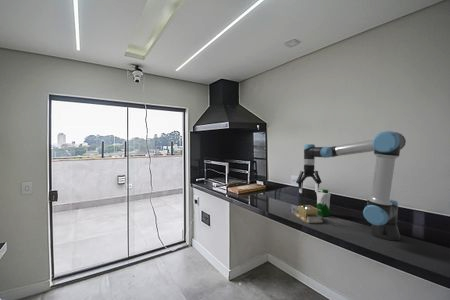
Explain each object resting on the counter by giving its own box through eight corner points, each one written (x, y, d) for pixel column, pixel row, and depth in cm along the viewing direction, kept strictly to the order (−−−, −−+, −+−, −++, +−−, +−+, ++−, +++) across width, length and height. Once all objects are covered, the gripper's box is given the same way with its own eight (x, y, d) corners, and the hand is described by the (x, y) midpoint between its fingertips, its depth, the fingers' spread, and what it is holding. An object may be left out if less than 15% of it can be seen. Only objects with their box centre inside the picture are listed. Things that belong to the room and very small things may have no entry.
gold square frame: (317, 218, 155) (317, 209, 154) (305, 219, 153) (305, 209, 152) (309, 213, 164) (309, 205, 164) (298, 214, 162) (298, 205, 162)
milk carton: (331, 215, 165) (332, 191, 164) (323, 217, 161) (323, 191, 160) (322, 212, 173) (323, 188, 172) (314, 213, 169) (314, 189, 169)
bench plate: (322, 222, 150) (322, 220, 150) (307, 223, 148) (307, 221, 148) (307, 213, 169) (307, 211, 169) (293, 214, 167) (293, 212, 167)
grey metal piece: (321, 220, 150) (321, 210, 150) (309, 221, 148) (309, 211, 148) (306, 211, 169) (306, 203, 169) (294, 212, 167) (295, 203, 166)
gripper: (320, 164, 163) (320, 190, 164) (291, 164, 158) (291, 192, 159) (326, 164, 156) (326, 192, 156) (296, 165, 151) (296, 194, 151)
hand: (308, 192), depth 158 cm, fingers open, 13 cm apart
